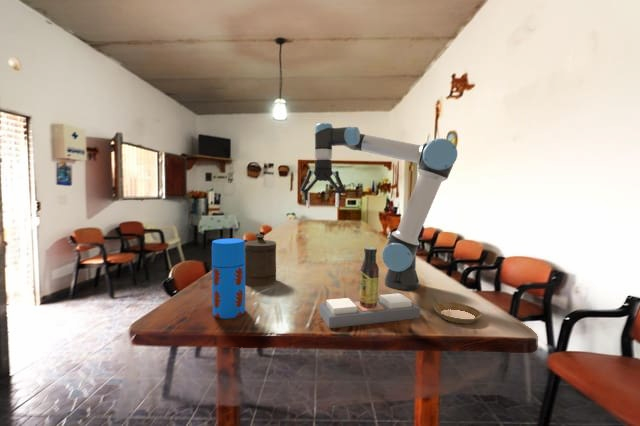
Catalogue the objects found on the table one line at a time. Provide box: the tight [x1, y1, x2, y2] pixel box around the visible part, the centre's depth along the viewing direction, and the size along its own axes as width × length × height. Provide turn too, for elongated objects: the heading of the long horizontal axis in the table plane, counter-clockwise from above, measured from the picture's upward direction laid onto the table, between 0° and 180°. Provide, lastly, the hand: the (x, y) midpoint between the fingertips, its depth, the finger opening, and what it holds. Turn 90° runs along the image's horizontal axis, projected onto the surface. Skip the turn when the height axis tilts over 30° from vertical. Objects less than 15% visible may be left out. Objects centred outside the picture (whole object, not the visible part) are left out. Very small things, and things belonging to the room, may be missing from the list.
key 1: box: [325, 297, 357, 315], centre depth 101 cm, size 8×8×2 cm
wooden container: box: [245, 233, 277, 287], centre depth 141 cm, size 15×15×22 cm
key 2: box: [379, 293, 413, 309], centre depth 107 cm, size 8×8×2 cm
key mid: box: [354, 301, 385, 312], centre depth 104 cm, size 8×8×2 cm
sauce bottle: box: [358, 246, 380, 307], centre depth 103 cm, size 7×6×20 cm
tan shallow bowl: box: [433, 302, 482, 324], centre depth 104 cm, size 15×15×3 cm
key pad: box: [318, 297, 421, 329], centre depth 104 cm, size 32×12×4 cm, turn 105°
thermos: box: [211, 237, 246, 320], centre depth 105 cm, size 11×11×25 cm
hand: (322, 207), depth 137 cm, fingers open, 13 cm apart
